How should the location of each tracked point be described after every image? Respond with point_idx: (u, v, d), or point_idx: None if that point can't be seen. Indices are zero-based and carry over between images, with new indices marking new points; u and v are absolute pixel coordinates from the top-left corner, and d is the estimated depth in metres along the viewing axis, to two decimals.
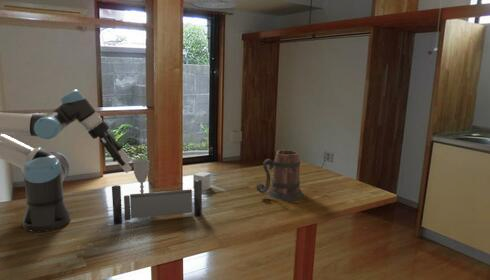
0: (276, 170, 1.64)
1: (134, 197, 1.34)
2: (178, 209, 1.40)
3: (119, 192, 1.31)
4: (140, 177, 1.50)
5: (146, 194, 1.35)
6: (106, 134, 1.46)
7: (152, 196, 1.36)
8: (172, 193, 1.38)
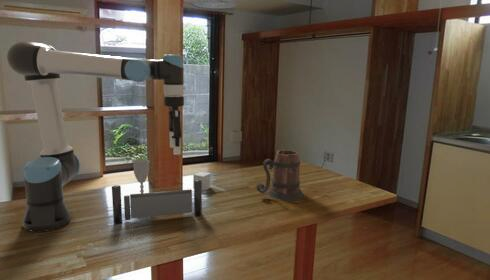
0: (276, 170, 1.64)
1: (134, 197, 1.34)
2: (178, 209, 1.40)
3: (119, 192, 1.31)
4: (140, 177, 1.50)
5: (146, 194, 1.35)
6: None
7: (152, 196, 1.36)
8: (172, 193, 1.38)
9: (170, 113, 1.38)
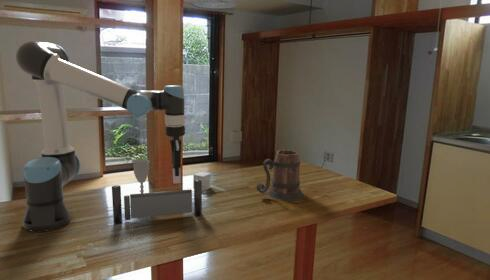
0: (276, 170, 1.64)
1: (134, 197, 1.34)
2: (178, 209, 1.40)
3: (119, 192, 1.31)
4: (140, 177, 1.50)
5: (146, 194, 1.35)
6: None
7: (152, 196, 1.36)
8: (172, 193, 1.38)
9: (171, 144, 1.41)
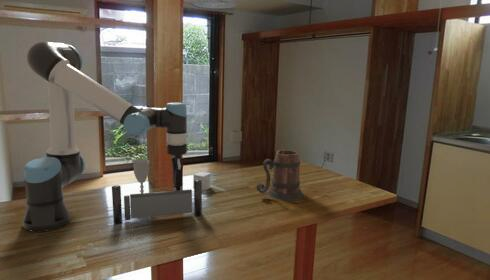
0: (276, 170, 1.64)
1: (134, 197, 1.34)
2: (178, 209, 1.40)
3: (119, 192, 1.31)
4: (140, 177, 1.50)
5: (146, 194, 1.35)
6: None
7: (152, 196, 1.36)
8: (172, 193, 1.38)
9: (173, 162, 1.38)
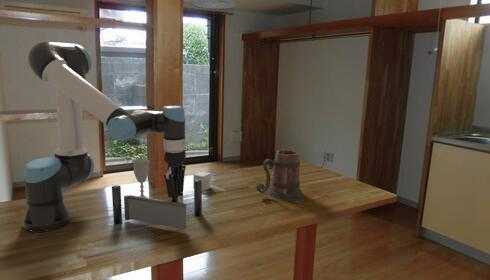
0: (276, 170, 1.64)
1: (131, 199, 1.32)
2: (170, 222, 1.28)
3: (119, 192, 1.31)
4: (140, 177, 1.50)
5: (141, 198, 1.31)
6: None
7: (147, 202, 1.30)
8: (165, 203, 1.28)
9: None
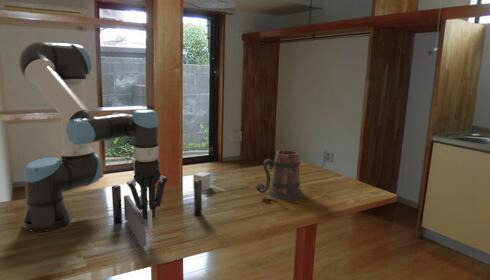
0: (276, 170, 1.64)
1: (126, 200, 1.31)
2: (136, 234, 1.18)
3: (119, 192, 1.31)
4: None
5: (129, 201, 1.27)
6: None
7: (129, 206, 1.25)
8: (134, 213, 1.19)
9: None
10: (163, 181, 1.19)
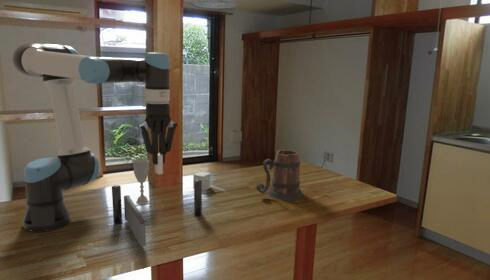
0: (276, 170, 1.64)
1: (126, 200, 1.31)
2: (136, 234, 1.18)
3: (119, 192, 1.31)
4: (140, 177, 1.50)
5: (129, 201, 1.27)
6: None
7: (129, 206, 1.25)
8: (134, 213, 1.19)
9: None
10: (173, 126, 1.19)
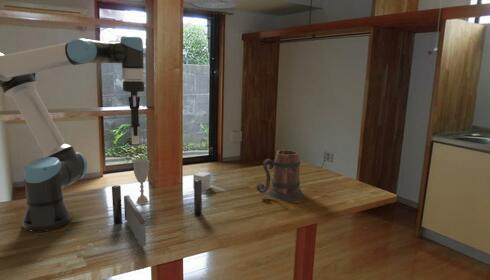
0: (276, 170, 1.64)
1: (126, 200, 1.31)
2: (136, 234, 1.18)
3: (119, 192, 1.31)
4: (140, 177, 1.50)
5: (129, 201, 1.27)
6: None
7: (129, 206, 1.25)
8: (134, 213, 1.19)
9: (129, 100, 1.31)
10: None
